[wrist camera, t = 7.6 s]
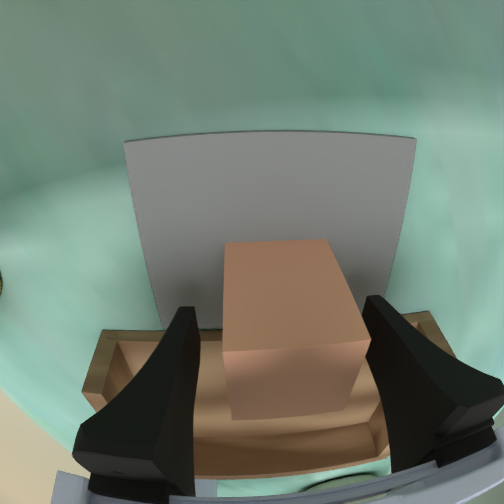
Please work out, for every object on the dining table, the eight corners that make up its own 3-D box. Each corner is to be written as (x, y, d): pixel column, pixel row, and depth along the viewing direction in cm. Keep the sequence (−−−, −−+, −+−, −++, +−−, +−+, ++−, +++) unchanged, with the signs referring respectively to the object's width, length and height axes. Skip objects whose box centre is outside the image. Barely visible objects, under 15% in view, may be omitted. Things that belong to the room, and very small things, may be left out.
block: (316, 312, 17) (343, 410, 12) (230, 317, 16) (232, 420, 11) (326, 238, 14) (371, 339, 9) (224, 243, 14) (222, 351, 9)
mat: (376, 312, 17) (377, 315, 17) (163, 324, 17) (163, 328, 17) (413, 137, 12) (416, 139, 12) (125, 141, 11) (123, 143, 11)
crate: (374, 417, 25) (386, 458, 22) (157, 433, 25) (152, 476, 21) (428, 310, 18) (459, 364, 14) (102, 330, 17) (81, 391, 13)
